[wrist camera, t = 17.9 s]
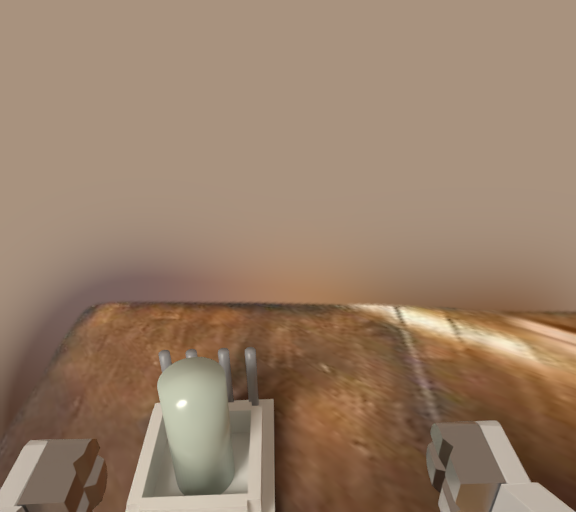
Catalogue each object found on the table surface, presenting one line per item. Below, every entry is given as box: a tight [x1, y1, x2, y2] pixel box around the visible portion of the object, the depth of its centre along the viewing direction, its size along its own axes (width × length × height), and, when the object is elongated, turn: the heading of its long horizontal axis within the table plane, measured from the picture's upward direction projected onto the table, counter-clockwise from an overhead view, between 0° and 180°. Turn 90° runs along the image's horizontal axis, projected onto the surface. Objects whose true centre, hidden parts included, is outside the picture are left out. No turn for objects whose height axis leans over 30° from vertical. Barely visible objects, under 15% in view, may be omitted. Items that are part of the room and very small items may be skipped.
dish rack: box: [125, 347, 275, 512], centre depth 38 cm, size 12×16×8 cm
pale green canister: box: [157, 357, 235, 496], centre depth 37 cm, size 5×5×11 cm
